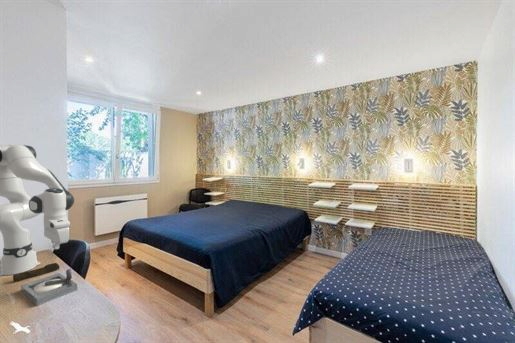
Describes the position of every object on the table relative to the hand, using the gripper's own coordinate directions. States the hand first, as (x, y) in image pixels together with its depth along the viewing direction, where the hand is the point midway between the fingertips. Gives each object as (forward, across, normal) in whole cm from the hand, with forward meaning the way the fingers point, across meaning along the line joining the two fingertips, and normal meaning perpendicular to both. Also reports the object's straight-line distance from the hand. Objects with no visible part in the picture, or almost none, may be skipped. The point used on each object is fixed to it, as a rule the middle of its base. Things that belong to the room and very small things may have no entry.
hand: (56, 248), depth 123 cm
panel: (+19, +4, -4) cm, 20 cm away
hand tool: (+20, -23, -1) cm, 30 cm away
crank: (+18, +4, -3) cm, 18 cm away
